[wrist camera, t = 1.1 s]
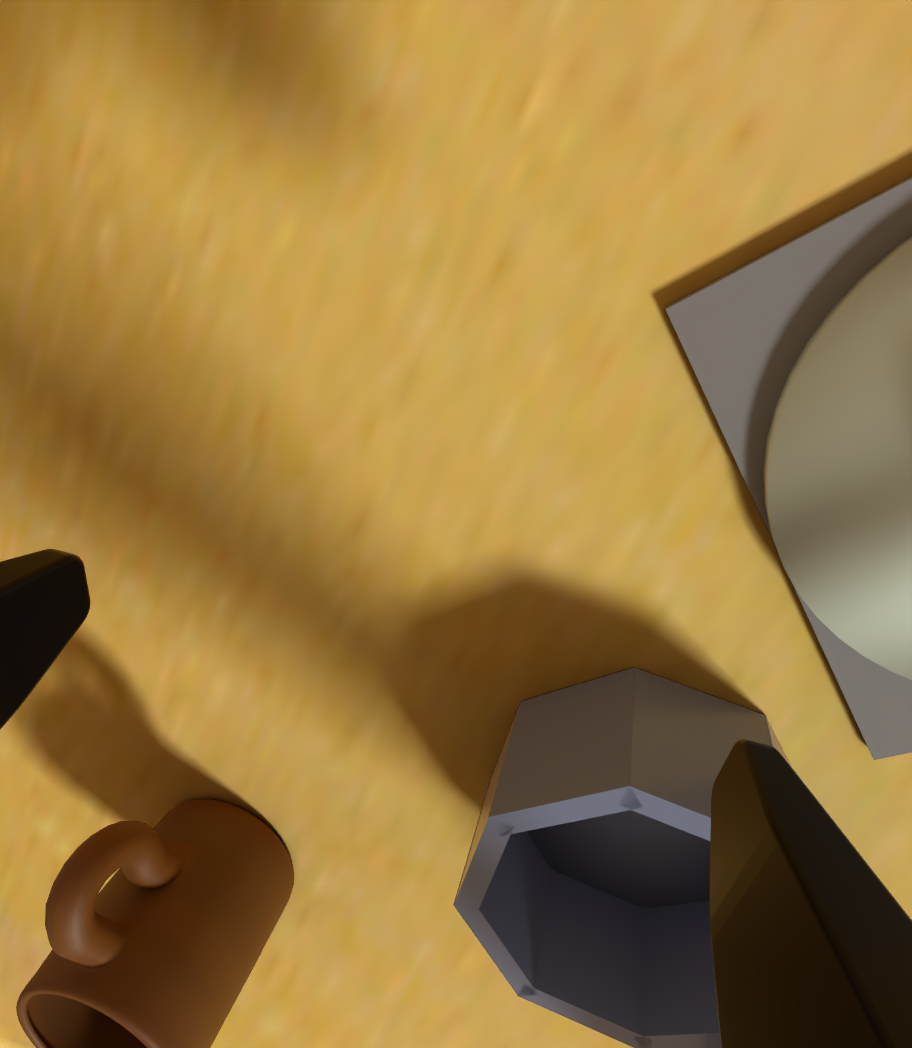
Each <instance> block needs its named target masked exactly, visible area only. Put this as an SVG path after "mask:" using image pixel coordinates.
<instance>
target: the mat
mask: <svg viewBox="0 0 912 1048" xmlns="http://www.w3.org/2000/svg"><path fill="white" fill-rule="evenodd" d="M911 235H912V176H911V177H909V178H907V179H905V180H903V181H901V182H900V183H898V184H896V185H894V186H892V187H890V188H888V189H886V190H885V191H883V192H881V193H879V194H877V195H875V196H873V197H871V198H870V199H868V200H866V201H864V202H862V203H860V204H858V205H856V206H855V207H853V208H851V209H849V210H847V211H845V212H843V213H841V214H840V215H838V216H836V217H834V218H832V219H830V220H828V221H826V222H825V223H823V224H821V225H819V226H817V227H815V228H813V229H811V230H810V231H808V232H806V233H804V234H802V235H800V236H798V237H796V238H795V239H793V240H791V241H789V242H787V243H785V244H783V245H781V246H780V247H778V248H776V249H774V250H772V251H770V252H768V253H766V254H765V255H763V256H761V257H759V258H757V259H755V260H753V261H751V262H750V263H748V264H746V265H744V266H742V267H740V268H738V269H736V270H735V271H733V272H731V273H729V274H727V275H725V276H723V277H721V278H720V279H718V280H716V281H714V282H712V283H710V284H708V285H706V286H705V287H703V288H701V289H699V290H697V291H695V292H693V293H691V294H690V295H688V296H686V297H684V298H682V299H680V300H678V301H676V302H675V303H673V304H671V305H669V306H667V307H665V309H666V312H667V314H668V316H669V318H670V320H671V322H672V325H673V327H674V329H675V331H676V333H677V335H678V338H679V340H680V342H681V344H682V346H683V348H684V351H685V353H686V355H687V357H688V359H689V361H690V364H691V366H692V368H693V370H694V372H695V374H696V377H697V379H698V381H699V383H700V385H701V387H702V389H703V392H704V394H705V396H706V398H707V400H708V402H709V405H710V407H711V409H712V411H713V413H714V415H715V418H716V420H717V422H718V424H719V426H720V428H721V431H722V433H723V435H724V437H725V439H726V441H727V444H728V446H729V448H730V450H731V452H732V454H733V457H734V459H735V461H736V463H737V465H738V467H739V470H740V472H741V474H742V476H743V478H744V480H745V482H746V485H747V487H748V489H749V491H750V493H751V495H752V498H753V500H754V502H755V504H756V506H757V508H758V511H759V513H760V515H761V517H762V519H763V521H764V524H765V526H766V528H767V530H768V532H769V534H770V537H771V539H772V541H773V543H774V545H775V542H774V540H773V537H772V534H771V532H770V528H769V523H768V518H767V513H766V508H765V503H764V483H763V467H764V458H765V449H766V441H767V436H768V433H769V429H770V425H771V421H772V417H773V413H774V410H775V407H776V404H777V402H778V399H779V397H780V394H781V392H782V390H783V387H784V385H785V382H786V380H787V377H788V375H789V373H790V371H791V370H792V368H793V366H794V364H795V363H796V361H797V359H798V357H799V356H800V354H801V352H802V350H803V348H804V347H805V345H806V343H807V341H808V340H809V339H810V337H811V336H812V335H813V333H814V332H815V331H816V329H817V328H818V327H819V325H820V324H821V322H822V321H823V320H824V318H825V317H826V316H827V314H828V313H829V312H830V310H831V309H832V308H833V307H834V306H835V304H836V303H837V302H838V301H839V300H840V299H841V298H842V297H843V296H844V295H845V294H846V293H847V292H848V290H849V289H850V288H851V287H852V286H853V285H854V284H855V283H856V282H857V281H858V280H859V279H860V277H861V276H862V275H864V274H865V273H866V272H867V271H868V270H869V269H870V268H872V267H873V266H874V265H875V264H876V263H877V262H879V261H880V260H881V259H882V258H883V257H884V256H885V255H887V254H888V253H889V252H890V251H891V250H892V249H893V248H895V247H896V246H897V245H898V244H900V243H901V242H902V241H904V240H905V239H907V238H908V237H910V236H911ZM775 547H776V545H775ZM776 550H777V548H776ZM777 552H778V551H777ZM778 554H779V553H778ZM791 582H792V581H791ZM792 584H793V583H792ZM793 586H794V585H793ZM794 588H795V587H794ZM795 591H796V593H797V595H798V597H799V599H800V601H801V604H802V606H803V608H804V610H805V612H806V614H807V617H808V619H809V621H810V623H811V625H812V627H813V630H814V632H815V634H816V636H817V638H818V640H819V643H820V645H821V647H822V649H823V651H824V653H825V656H826V658H827V660H828V662H829V664H830V666H831V669H832V671H833V673H834V675H835V677H836V679H837V681H838V684H839V686H840V688H841V690H842V692H843V694H844V697H845V699H846V701H847V703H848V705H849V707H850V710H851V712H852V714H853V716H854V718H855V720H856V723H857V725H858V727H859V729H860V731H861V733H862V736H863V738H864V740H865V742H866V744H867V746H868V749H869V751H870V753H871V755H872V757H873V759H874V760H876V759H881V758H886V757H890V756H895V755H900V754H905V753H910V752H912V680H911V679H908V678H906V677H903V676H901V675H898V674H896V673H894V672H891V671H889V670H888V669H886V668H884V667H882V666H880V665H879V664H877V663H875V662H873V661H871V660H870V659H868V658H866V657H864V656H863V655H861V654H860V653H858V652H857V651H856V650H854V649H853V648H852V647H850V646H849V645H847V644H846V643H845V642H843V641H842V640H841V639H839V638H838V637H837V636H836V635H835V634H834V633H833V632H832V631H831V630H830V629H829V628H828V627H826V626H825V625H824V624H823V623H822V622H821V621H820V620H819V619H818V618H817V617H816V616H815V614H814V613H813V612H812V611H811V609H810V608H809V607H808V605H807V604H806V603H805V602H804V600H803V599H802V598H801V596H800V595H799V594H798V592H797V590H796V589H795Z"/></svg>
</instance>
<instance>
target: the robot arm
mask: <svg viewBox="0 0 912 1048" xmlns="http://www.w3.org/2000/svg"><path fill="white" fill-rule="evenodd" d="M89 609H90V596H89V590H88V585H87V579H86V573H85V567H84V563H83V561H82V560H81V559H80V557H78V556H77V555H74V554H71V553H67V552H63V551H60V550H55V549H47V550H42V551H39V552H35V553H31V554H27V555H24V556H20V557H16V558H13V559H9V560H5V561H2V562H0V729H1V728H2V727H3V726H4V725H5V724H6V722H7V721H8V720H9V719H10V718H11V717H12V715H13V714H14V713H15V712H16V711H17V710H18V708H19V707H20V706H21V705H22V703H23V702H24V701H25V699H26V698H27V697H28V696H29V694H30V693H31V692H32V690H33V689H34V688H35V686H36V685H37V684H38V682H39V681H40V680H41V678H42V677H43V676H44V674H45V673H46V672H47V670H48V669H49V668H50V666H51V665H52V664H53V662H54V661H55V659H56V658H57V657H58V655H59V654H60V653H61V651H62V650H63V649H64V647H65V646H66V645H67V643H68V642H69V641H70V639H71V638H72V637H73V635H74V634H75V632H76V631H77V630H78V628H79V627H80V626H81V624H82V623H83V622H84V620H85V619H86V617H87V615H88V612H89ZM710 932H711V945H712V956H713V966H714V976H715V986H716V997H717V1007H718V1017H719V1028H720V1038H721V1048H912V920H911V919H910V918H909V916H908V915H907V914H906V912H905V911H904V910H903V909H902V907H901V906H900V905H899V904H898V902H897V901H896V900H895V898H894V897H893V896H892V895H891V893H890V892H889V891H888V890H887V888H886V887H885V886H884V884H883V883H882V882H881V881H880V879H879V878H878V877H877V876H876V874H875V873H874V872H873V870H872V869H871V868H870V867H869V865H868V864H867V863H866V862H865V860H864V859H863V858H862V856H861V855H860V854H859V853H858V851H857V850H856V849H855V848H854V846H853V845H852V844H851V842H850V841H849V840H848V839H847V837H846V836H845V835H844V834H843V832H842V831H841V830H840V828H839V827H838V826H837V825H836V823H835V822H834V821H833V820H832V818H831V817H830V816H829V814H828V813H827V812H826V811H825V809H824V808H823V807H822V806H821V804H820V803H819V802H818V800H817V799H816V798H815V797H814V795H813V794H812V793H811V792H810V790H809V789H808V788H807V786H806V785H805V784H804V783H803V781H802V780H801V779H800V778H799V776H798V775H797V774H796V772H795V771H794V770H793V769H792V767H791V766H790V765H789V764H788V762H787V761H786V760H785V758H784V757H783V756H782V755H781V753H780V752H779V751H778V750H777V749H776V748H774V747H773V746H770V745H767V744H764V743H760V742H757V741H753V740H749V739H739V740H738V741H737V742H736V743H735V744H734V746H733V747H732V749H731V751H730V753H729V755H728V757H727V759H726V760H725V762H724V764H723V766H722V768H721V770H720V771H719V773H718V775H717V777H716V779H715V781H714V784H713V788H712V794H711V834H710Z"/></svg>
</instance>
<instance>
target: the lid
mask: <svg viewBox="0 0 912 1048" xmlns="http://www.w3.org/2000/svg"><path fill="white" fill-rule="evenodd" d="M763 483H764V503H765V508H766V513H767V518H768V523H769V528H770V532H771V534H772V537H773V540H774V542H775V545H776V548H777V551H778V553H779V556H780V559H781V561H782V564H783V567H784V569H785V571H786V572H787V574H788V576H789V578H790V580H791V581H792V583H793V585H794V587H795V589H796V590H797V592H798V594H799V595H800V596H801V598H802V599H803V600H804V602H805V603H806V604H807V605H808V607H809V608H810V609H811V611H812V612H813V613H814V614H815V616H816V617H817V618H818V619H819V620H820V621H821V622H822V623H823V624H824V625H825V626H826V627H828V628H829V629H830V630H831V631H832V632H833V633H834V634H835V635H836V636H837V637H838V638H839V639H841V640H842V641H843V642H845V643H846V644H847V645H849V646H850V647H852V648H853V649H854V650H856V651H857V652H858V653H860V654H861V655H863V656H864V657H866V658H868V659H870V660H871V661H873V662H875V663H877V664H879V665H880V666H882V667H884V668H886V669H888V670H889V671H891V672H894V673H896V674H898V675H901V676H903V677H906V678H908V679H911V680H912V235H911V236H910V237H908V238H907V239H905V240H904V241H902V242H901V243H900V244H898V245H897V246H896V247H895V248H893V249H892V250H891V251H890V252H889V253H888V254H887V255H885V256H884V257H883V258H882V259H881V260H880V261H879V262H877V263H876V264H875V265H874V266H873V267H872V268H870V269H869V270H868V271H867V272H866V273H865V274H864V275H862V276H861V277H860V279H859V280H858V281H857V282H856V283H855V284H854V285H853V286H852V287H851V288H850V289H849V290H848V292H847V293H846V294H845V295H844V296H843V297H842V298H841V299H840V300H839V301H838V302H837V303H836V304H835V306H834V307H833V308H832V309H831V310H830V312H829V313H828V314H827V316H826V317H825V318H824V320H823V321H822V322H821V324H820V325H819V327H818V328H817V329H816V331H815V332H814V333H813V335H812V336H811V337H810V339H809V340H808V341H807V343H806V345H805V347H804V348H803V350H802V352H801V354H800V356H799V357H798V359H797V361H796V363H795V364H794V366H793V368H792V370H791V371H790V373H789V375H788V377H787V380H786V382H785V385H784V387H783V390H782V392H781V394H780V397H779V399H778V402H777V404H776V407H775V410H774V413H773V417H772V421H771V425H770V429H769V433H768V436H767V441H766V449H765V458H764V467H763Z"/></svg>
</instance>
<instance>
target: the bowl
mask: <svg viewBox="0 0 912 1048" xmlns="http://www.w3.org/2000/svg"><path fill="white" fill-rule="evenodd" d="M739 739H749V740H753V741H757V742H760V743H764V744H767V745H770V746H773V747H774V748H776V749H777V750H778V751H779V752H780V753H781V755H782V756H783V757H784V758H785V760H786V761H787V762H788V764H789V765H790V763H789V761H788V759H787V757H786V755H785V753H784V751H783V750H782V748H781V746H780V744H779V742H778V740H777V738H776V736H775V734H774V732H773V730H772V728H771V726H770V724H769V722H768V720H767V718H766V715H763V714H761V713H758V712H755V711H752V710H750V709H747V708H744V707H741V706H739V705H736V704H733V703H731V702H728V701H725V700H722V699H720V698H717V697H714V696H711V695H709V694H706V693H703V692H701V691H698V690H695V689H692V688H690V687H687V686H684V685H681V684H679V683H676V682H673V681H670V680H668V679H665V678H662V677H660V676H657V675H654V674H651V673H649V672H646V671H643V670H640V669H638V668H635V667H634V668H631V669H627V670H624V671H621V672H617V673H614V674H611V675H607V676H604V677H601V678H597V679H594V680H591V681H587V682H584V683H581V684H577V685H574V686H571V687H567V688H564V689H561V690H557V691H554V692H551V693H547V694H544V695H541V696H537V697H534V698H531V699H527V700H524V701H521V702H520V705H519V708H518V710H517V713H516V715H515V718H514V721H513V723H512V726H511V728H510V731H509V734H508V736H507V739H506V742H505V744H504V747H503V749H502V752H501V755H500V757H499V760H498V762H497V765H496V768H495V770H494V773H493V776H492V778H491V781H490V782H489V786H488V789H487V792H486V796H485V799H484V803H483V806H482V809H481V813H480V816H479V820H478V823H477V827H476V830H475V833H474V837H473V840H472V844H471V847H470V850H469V854H468V857H467V861H466V864H465V867H464V871H463V874H462V878H461V881H460V884H459V888H458V891H457V895H456V898H455V902H454V906H455V908H456V909H457V910H458V912H459V913H460V915H461V916H462V918H463V919H464V920H465V922H466V923H467V925H468V926H469V927H470V929H471V930H472V932H473V933H474V934H475V936H476V937H477V939H478V940H479V941H480V943H481V944H482V946H483V947H484V949H485V950H486V951H487V953H488V954H489V956H490V957H491V958H492V960H493V961H494V963H495V964H496V965H497V967H498V968H499V970H500V971H501V972H502V974H503V975H504V977H505V978H506V980H507V981H508V982H509V984H510V985H511V987H512V988H513V989H514V991H515V992H516V994H517V995H518V996H519V997H521V998H524V999H526V1000H528V1001H530V1002H533V1003H535V1004H537V1005H539V1006H542V1007H544V1008H546V1009H548V1010H551V1011H553V1012H555V1013H557V1014H560V1015H562V1016H564V1017H566V1018H569V1019H571V1020H573V1021H575V1022H578V1023H580V1024H582V1025H584V1026H587V1027H589V1028H591V1029H593V1030H596V1031H598V1032H600V1033H602V1034H605V1035H607V1036H609V1037H611V1038H614V1039H616V1040H618V1041H620V1042H623V1043H625V1044H627V1045H629V1046H632V1047H634V1048H721V1038H720V1028H719V1017H718V1007H717V997H716V986H715V976H714V966H713V956H712V945H711V932H710V834H711V794H712V788H713V784H714V781H715V779H716V777H717V775H718V773H719V771H720V770H721V768H722V766H723V764H724V762H725V760H726V759H727V757H728V755H729V753H730V751H731V749H732V747H733V746H734V744H735V743H736V742H737V741H738V740H739ZM790 766H791V765H790Z"/></svg>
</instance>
